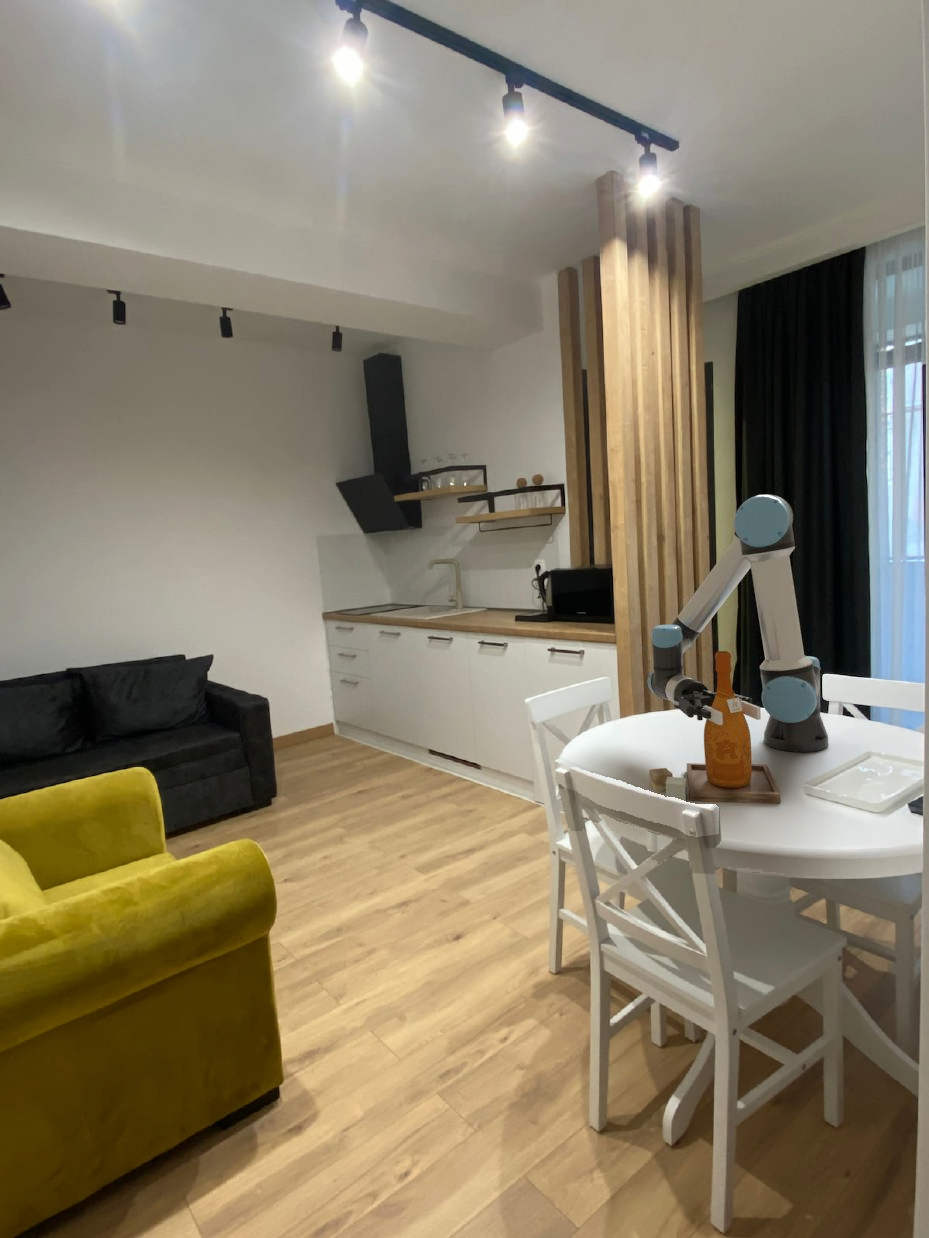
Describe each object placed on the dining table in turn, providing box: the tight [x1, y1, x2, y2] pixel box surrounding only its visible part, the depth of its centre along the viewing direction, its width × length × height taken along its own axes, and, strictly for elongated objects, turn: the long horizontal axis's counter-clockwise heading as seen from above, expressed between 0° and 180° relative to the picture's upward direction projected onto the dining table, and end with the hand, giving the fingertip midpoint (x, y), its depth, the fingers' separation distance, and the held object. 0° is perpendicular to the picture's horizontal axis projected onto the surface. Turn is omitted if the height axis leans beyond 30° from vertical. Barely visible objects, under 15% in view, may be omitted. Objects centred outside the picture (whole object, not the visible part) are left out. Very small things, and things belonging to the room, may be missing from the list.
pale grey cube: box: [665, 776, 688, 802], centre depth 151 cm, size 4×4×4 cm
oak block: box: [648, 767, 674, 793], centre depth 157 cm, size 4×4×4 cm
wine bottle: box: [703, 650, 753, 788], centre depth 153 cm, size 10×10×30 cm
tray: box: [685, 762, 782, 804], centre depth 155 cm, size 18×18×2 cm
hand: (740, 716), depth 149 cm, fingers open, 8 cm apart
